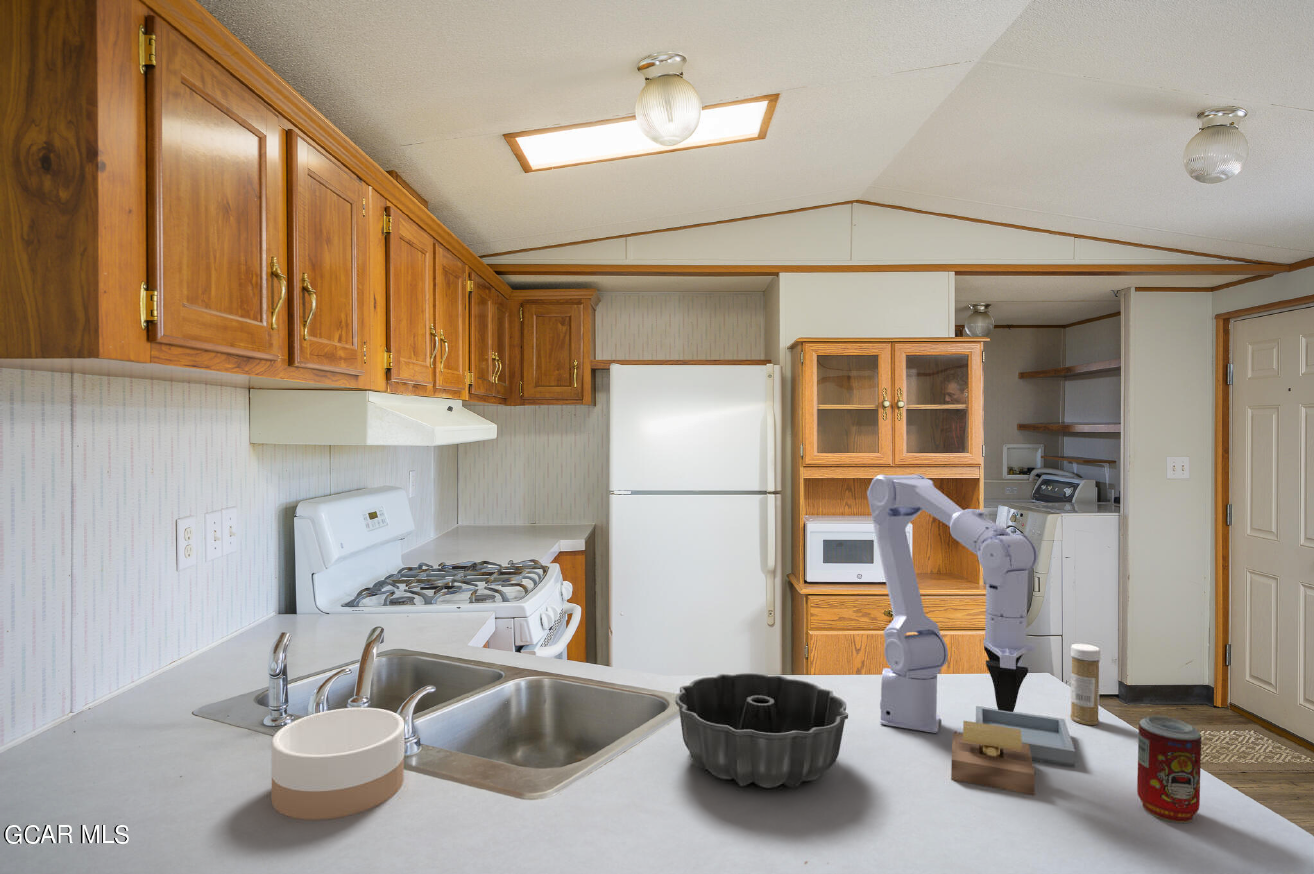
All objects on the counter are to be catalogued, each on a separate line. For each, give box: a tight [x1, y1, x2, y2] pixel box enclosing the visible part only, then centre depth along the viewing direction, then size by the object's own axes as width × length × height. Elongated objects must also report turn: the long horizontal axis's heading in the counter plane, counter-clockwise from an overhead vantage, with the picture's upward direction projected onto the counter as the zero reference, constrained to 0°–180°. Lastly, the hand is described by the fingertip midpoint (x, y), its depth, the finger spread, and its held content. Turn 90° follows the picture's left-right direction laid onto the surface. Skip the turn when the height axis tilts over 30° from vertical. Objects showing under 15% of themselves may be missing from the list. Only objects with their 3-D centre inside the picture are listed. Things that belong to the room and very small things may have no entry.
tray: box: [975, 705, 1076, 768], centre depth 123 cm, size 14×14×2 cm
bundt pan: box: [674, 672, 849, 789], centre depth 114 cm, size 26×26×10 cm
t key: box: [962, 720, 1022, 757], centre depth 112 cm, size 8×3×7 cm, turn 67°
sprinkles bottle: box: [1069, 643, 1101, 726], centre depth 133 cm, size 5×5×14 cm
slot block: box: [950, 731, 1035, 796], centre depth 112 cm, size 11×11×3 cm
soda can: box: [1136, 715, 1202, 824], centre depth 101 cm, size 7×7×12 cm
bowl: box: [270, 707, 405, 821], centre depth 104 cm, size 17×17×8 cm
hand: (1004, 701), depth 113 cm, fingers open, 7 cm apart
